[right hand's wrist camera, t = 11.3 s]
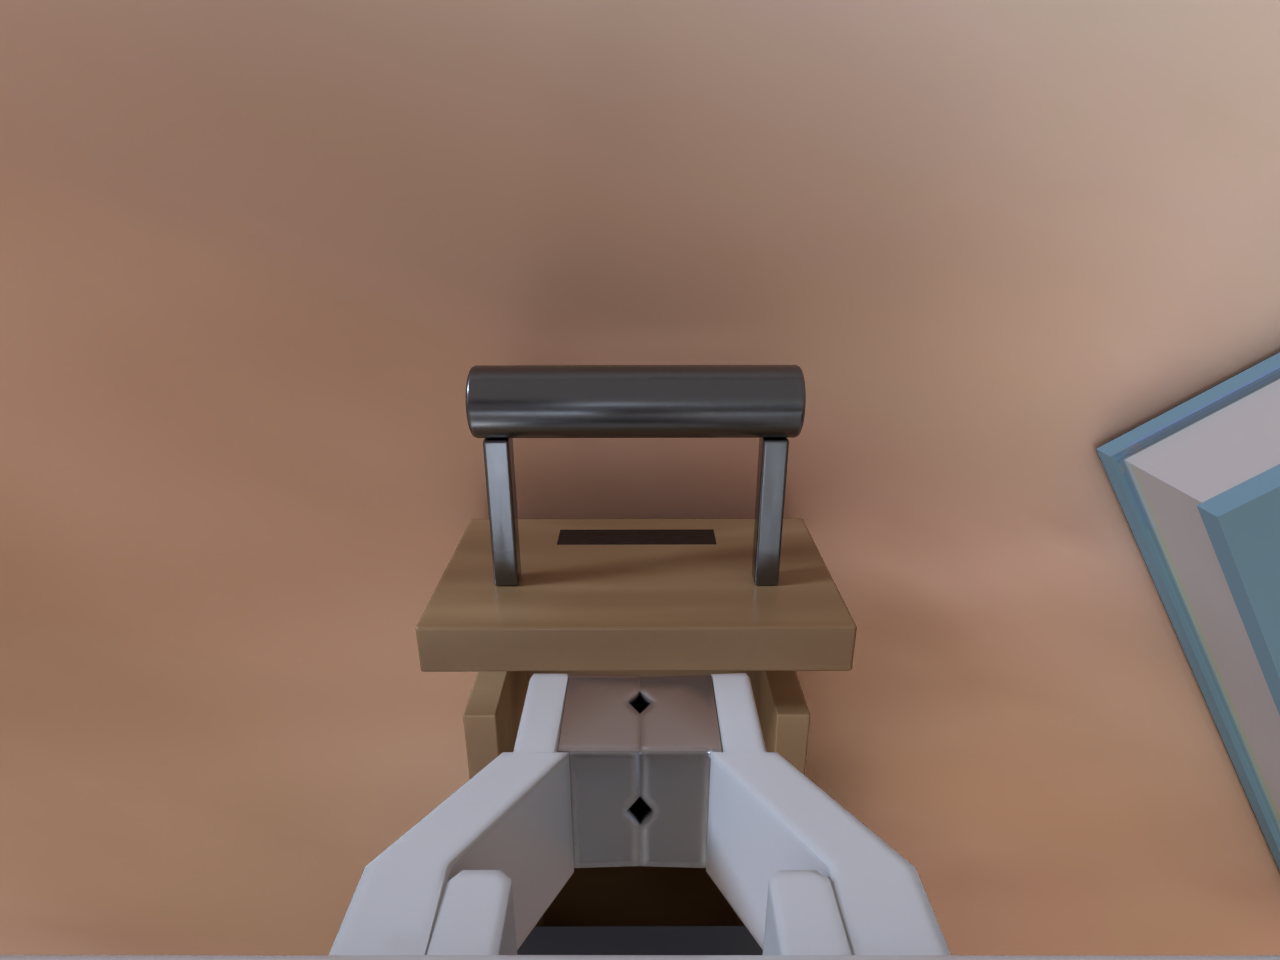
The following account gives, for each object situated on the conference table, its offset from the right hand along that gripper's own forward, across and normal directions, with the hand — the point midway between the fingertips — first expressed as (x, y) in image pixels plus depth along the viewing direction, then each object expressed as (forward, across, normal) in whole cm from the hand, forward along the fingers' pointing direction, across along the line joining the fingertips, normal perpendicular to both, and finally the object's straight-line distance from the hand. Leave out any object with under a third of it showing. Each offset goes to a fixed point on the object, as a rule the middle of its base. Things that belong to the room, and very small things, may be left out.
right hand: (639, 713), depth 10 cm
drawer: (+12, 0, -9) cm, 15 cm away
